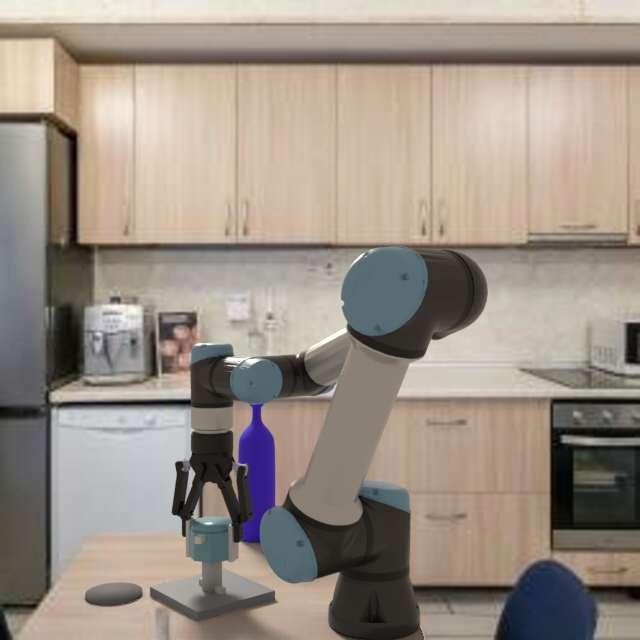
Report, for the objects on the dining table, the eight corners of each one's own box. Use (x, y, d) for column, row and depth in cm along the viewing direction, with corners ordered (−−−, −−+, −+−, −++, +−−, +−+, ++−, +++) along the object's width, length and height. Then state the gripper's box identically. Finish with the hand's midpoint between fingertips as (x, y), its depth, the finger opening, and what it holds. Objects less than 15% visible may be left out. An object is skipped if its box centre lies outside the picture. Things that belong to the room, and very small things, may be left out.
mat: (152, 596, 151) (152, 593, 151) (100, 609, 145) (100, 606, 145) (126, 581, 159) (126, 578, 159) (75, 593, 152) (75, 590, 152)
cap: (217, 567, 144) (217, 532, 144) (178, 562, 147) (177, 528, 147) (244, 549, 155) (244, 516, 154) (207, 544, 157) (207, 512, 157)
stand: (275, 598, 150) (275, 540, 150) (197, 621, 140) (197, 557, 139) (224, 576, 162) (224, 521, 162) (149, 594, 152) (149, 536, 151)
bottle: (269, 544, 183) (270, 406, 182) (233, 541, 185) (233, 405, 184) (279, 533, 191) (279, 401, 190) (244, 531, 193) (244, 400, 192)
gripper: (273, 429, 150) (273, 557, 151) (171, 423, 157) (171, 546, 158) (256, 436, 143) (256, 570, 144) (150, 429, 150) (150, 557, 151)
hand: (212, 557), depth 151 cm, fingers closed on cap, 8 cm apart
